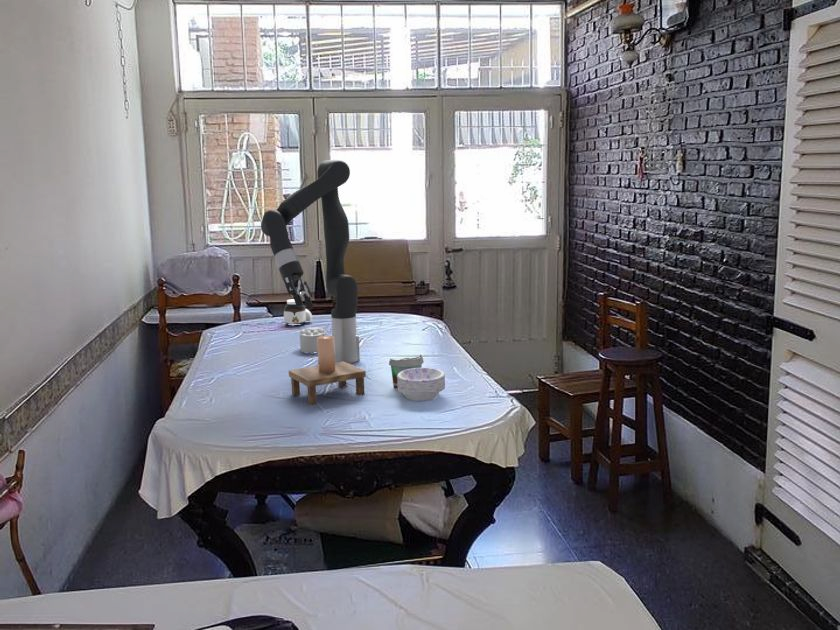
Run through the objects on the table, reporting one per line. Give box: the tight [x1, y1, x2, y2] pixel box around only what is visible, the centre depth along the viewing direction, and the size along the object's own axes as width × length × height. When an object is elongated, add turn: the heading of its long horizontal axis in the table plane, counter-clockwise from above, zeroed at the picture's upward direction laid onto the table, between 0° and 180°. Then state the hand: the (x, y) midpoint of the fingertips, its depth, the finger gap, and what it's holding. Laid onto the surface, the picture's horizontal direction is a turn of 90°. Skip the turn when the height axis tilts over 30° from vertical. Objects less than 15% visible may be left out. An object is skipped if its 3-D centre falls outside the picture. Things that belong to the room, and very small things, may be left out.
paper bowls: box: [397, 367, 446, 402], centre depth 259 cm, size 15×15×8 cm
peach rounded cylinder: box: [317, 335, 335, 373], centre depth 262 cm, size 5×5×11 cm
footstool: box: [288, 361, 367, 406], centre depth 264 cm, size 20×16×8 cm
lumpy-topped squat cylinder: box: [299, 326, 327, 354], centre depth 328 cm, size 10×13×9 cm
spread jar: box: [283, 298, 313, 325], centre depth 382 cm, size 12×11×12 cm
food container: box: [388, 354, 425, 390], centre depth 270 cm, size 12×6×10 cm, turn 117°
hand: (305, 307), depth 274 cm, fingers open, 8 cm apart
